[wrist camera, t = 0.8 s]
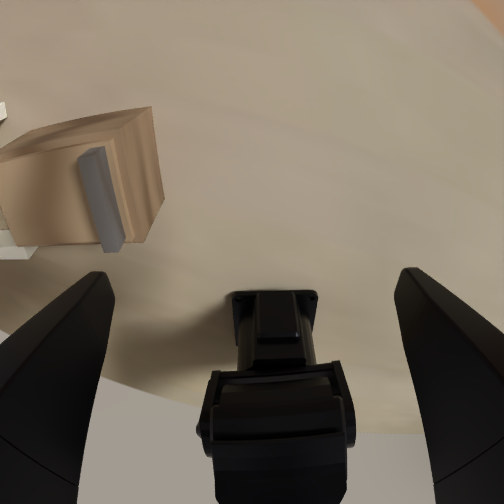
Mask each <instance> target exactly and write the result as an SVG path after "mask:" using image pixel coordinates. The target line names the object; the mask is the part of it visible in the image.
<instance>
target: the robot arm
mask: <svg viewBox="0 0 504 504" xmlns="http://www.w3.org/2000/svg"><path fill="white" fill-rule="evenodd" d="M311 296H313V297H311ZM237 298H241V299H237ZM394 300H395V305H396V310H397V315H398V320H399V325H400V331H401V336H402V342H403V346H404V351H405V355H406V358H407V362H408V365H409V369H410V373H411V377H412V381H413V384H414V388H415V392H416V396H417V401H418V405H419V409H420V414H421V418H422V423H423V428H424V432H425V437H426V442H427V448H428V453H429V459H430V465H431V471H432V477H433V483H434V492H435V501H436V504H504V334H503V333H502V332H501V331H500V330H499V329H497V328H496V327H495V326H494V325H492V324H491V323H490V322H489V321H488V320H486V319H485V318H484V317H483V316H481V315H480V314H479V313H478V312H476V311H475V310H474V309H472V308H471V307H470V306H469V305H467V304H466V303H465V302H463V301H462V300H461V299H460V298H458V297H457V296H456V295H454V294H453V293H452V292H450V291H449V290H448V289H446V288H445V287H444V286H442V285H441V284H440V283H438V282H437V281H436V280H434V279H433V278H431V277H430V276H429V275H427V274H426V273H425V272H423V271H422V270H420V269H419V268H417V267H409V268H404V269H403V270H402V271H401V273H400V277H399V280H398V283H397V286H396V289H395V292H394ZM317 302H318V295H317V292H316V291H314V290H302V291H257V292H235V293H234V294H233V295H232V307H233V318H234V329H235V339H236V346H238V365H237V371H223V372H221V371H220V370H217V371H212V374H211V379H210V380H209V381H208V385H207V389H206V394H205V398H204V402H203V406H202V411H201V414H200V419H199V422H198V424H197V426H196V433H197V435H198V436H199V437H200V438H201V439H202V444H203V448H204V452H205V454H206V455H207V457H211V458H212V460H213V469H214V477H215V497H216V500H217V501H218V503H219V504H340V502H341V500H342V499H343V497H344V495H345V493H346V490H347V483H346V481H347V448H352V447H354V445H355V440H356V418H355V411H354V405H353V401H352V398H351V394H350V391H349V388H348V385H347V382H346V379H345V375H344V372H343V369H342V366H341V363H340V360H338V361H332V362H331V363H324V364H316V358H315V351H314V344H313V338H312V331H313V325H314V319H315V314H316V308H317ZM114 305H115V296H114V292H113V290H112V287H111V284H110V282H109V279H108V276H107V274H106V273H105V272H101V271H93V272H90V273H88V274H87V275H86V276H84V277H83V278H82V279H80V280H79V281H78V282H76V283H75V284H74V285H72V286H71V287H70V288H68V289H67V290H66V291H65V292H63V293H62V294H61V295H59V296H58V297H57V298H56V299H54V300H53V301H52V302H51V303H49V304H48V305H47V306H46V307H44V308H43V309H42V310H41V311H39V312H38V313H37V314H36V315H34V316H33V317H32V318H31V319H29V320H28V321H27V322H26V323H25V324H23V325H22V326H21V327H20V328H19V329H17V330H16V331H15V332H14V333H13V334H12V335H10V336H9V337H8V338H7V339H6V340H5V341H3V342H2V343H1V344H0V504H77V497H78V489H79V487H78V486H79V480H80V473H81V467H82V461H83V454H84V448H85V443H86V438H87V432H88V427H89V422H90V417H91V413H92V408H93V404H94V399H95V394H96V390H97V386H98V381H99V378H100V374H101V370H102V366H103V362H104V358H105V354H106V350H107V344H108V338H109V332H110V327H111V321H112V315H113V310H114Z"/></svg>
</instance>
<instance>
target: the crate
mask: <svg viewBox="0 0 504 504" xmlns="http://www.w3.org/2000/svg"><path fill="white" fill-rule="evenodd" d="M164 199H165V198H164V192H163V186H162V180H161V174H160V167H159V160H158V153H157V146H156V139H155V131H154V124H153V115H152V107H151V106H150V107H143V108H135V109H129V110H122V111H116V112H111V113H105V114H100V115H94V116H89V117H84V118H80V119H75V120H71V121H66V122H62V123H58V124H54V125H50V126H46V127H42V128H38V129H35V130H31V131H29V132H27V133H25V134H24V135H22V136H20V137H19V138H17V139H15V140H14V141H12V142H11V143H9V144H7V145H6V146H4V147H3V148H1V149H0V206H1V209H2V212H3V214H4V217H5V220H6V222H7V225H8V227H9V230H10V232H11V234H12V237H13V239H14V241H15V244H16V245H17V247H29V246H56V245H85V244H101V245H102V248H103V251H104V253H109V252H119V250H120V249H121V247H122V245H123V243H144V241H145V239H146V236H147V234H148V232H149V230H150V228H151V226H152V224H153V222H154V219H155V217H156V215H157V213H158V211H159V209H160V207H161V205H162V203H163V201H164Z"/></svg>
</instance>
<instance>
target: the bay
mask: <svg viewBox="0 0 504 504" xmlns="http://www.w3.org/2000/svg"><path fill="white" fill-rule="evenodd" d="M6 117H7V114H6V108H5V103H4V101H3V102H1V103H0V120H2V119H4V118H6ZM38 247H39V246H29V247H17V245H16V244H15V241H14V239H13V237H12V234H11V232H10V230H0V259H30V257H31V256H32V255H33V253H34V252H35V251H36V249H37V248H38Z"/></svg>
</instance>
